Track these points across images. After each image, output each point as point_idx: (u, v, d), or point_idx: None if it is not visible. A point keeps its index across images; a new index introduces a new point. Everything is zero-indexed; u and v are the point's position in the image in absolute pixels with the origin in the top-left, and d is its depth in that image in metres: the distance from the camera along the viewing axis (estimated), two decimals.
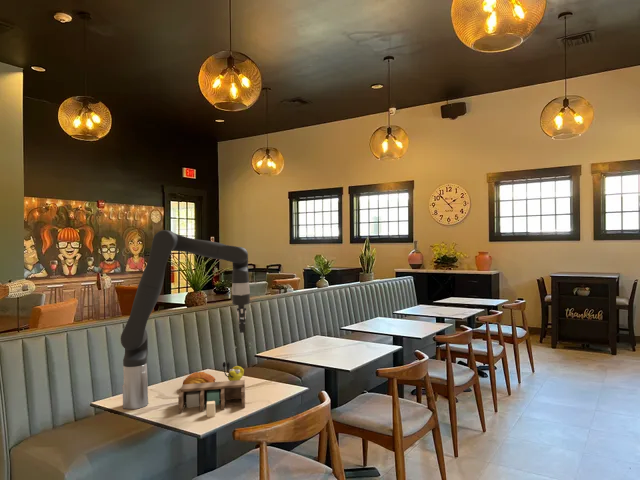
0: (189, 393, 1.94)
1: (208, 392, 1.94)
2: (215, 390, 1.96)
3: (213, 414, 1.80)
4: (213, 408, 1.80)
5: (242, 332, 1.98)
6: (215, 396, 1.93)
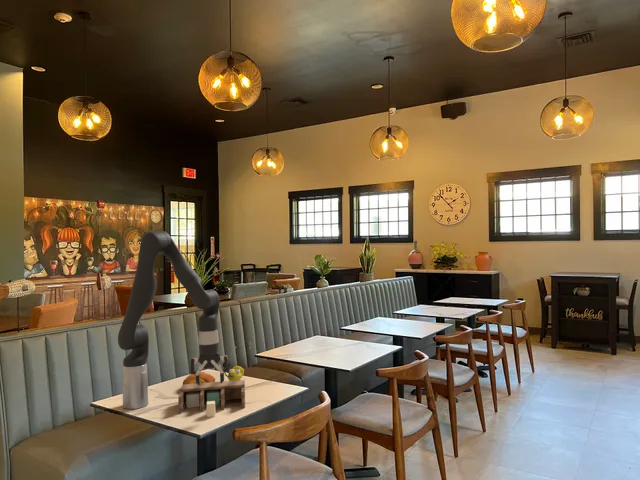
0: (189, 393, 1.94)
1: (208, 392, 1.94)
2: (215, 390, 1.96)
3: (213, 414, 1.80)
4: (213, 408, 1.80)
5: None
6: (215, 396, 1.93)
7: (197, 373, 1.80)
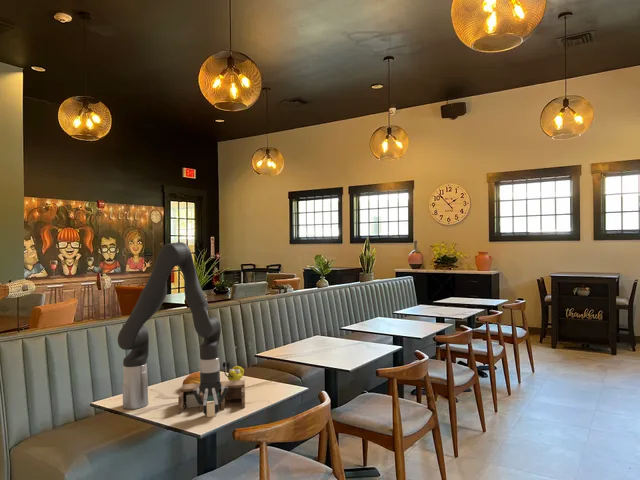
0: (189, 393, 1.94)
1: None
2: None
3: (213, 414, 1.80)
4: (213, 408, 1.80)
5: (216, 413, 1.82)
6: None
7: (204, 403, 1.80)
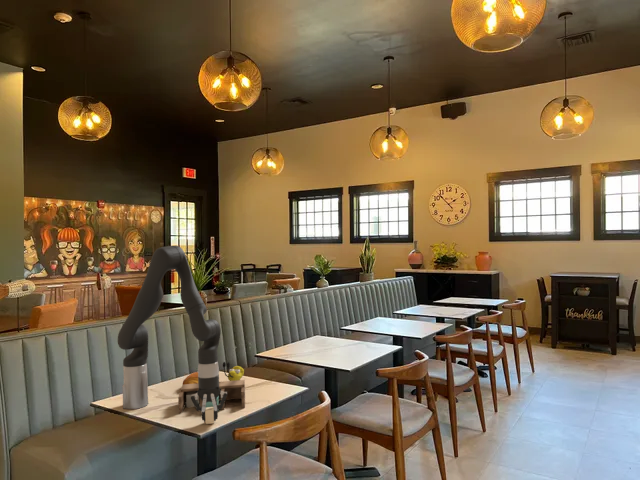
0: (189, 393, 1.94)
1: None
2: None
3: (212, 421, 1.72)
4: (212, 414, 1.72)
5: (215, 419, 1.74)
6: None
7: (203, 409, 1.72)
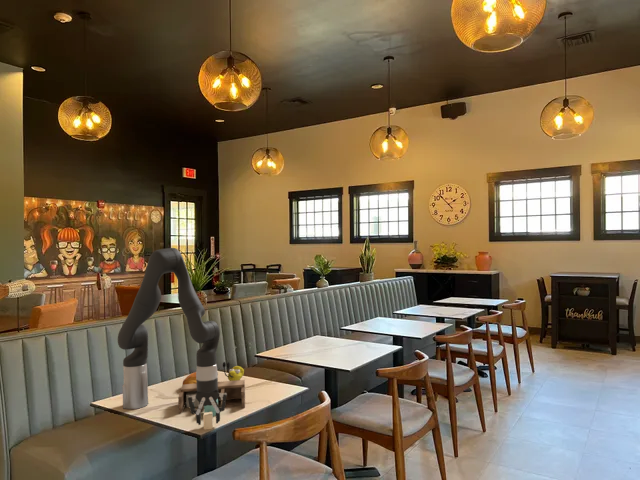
0: (189, 393, 1.94)
1: None
2: None
3: (210, 426, 1.68)
4: (210, 420, 1.68)
5: None
6: None
7: (198, 412, 1.68)
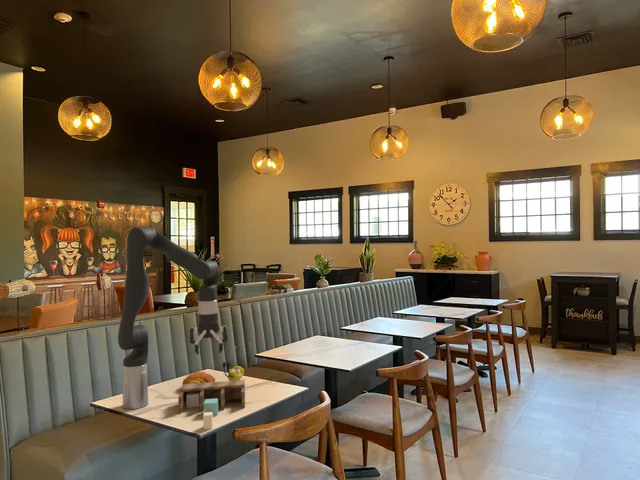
0: (189, 393, 1.94)
1: (205, 402, 1.82)
2: (213, 400, 1.84)
3: (210, 426, 1.68)
4: (210, 420, 1.68)
5: None
6: (213, 406, 1.81)
7: (196, 342, 1.81)
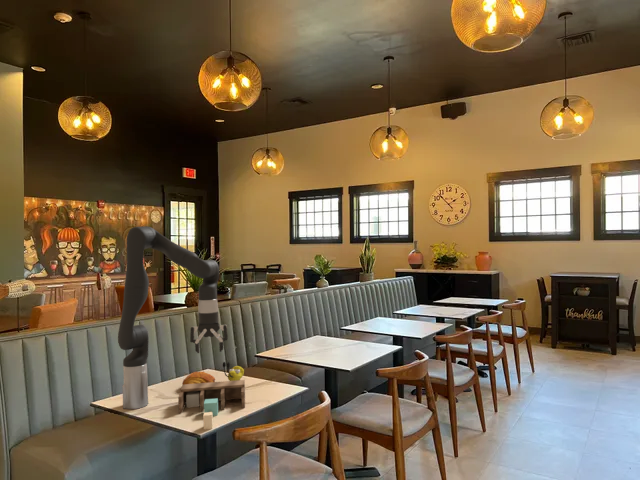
0: (189, 393, 1.94)
1: (205, 402, 1.82)
2: (213, 400, 1.84)
3: (210, 426, 1.68)
4: (210, 420, 1.68)
5: (221, 351, 1.84)
6: (213, 406, 1.81)
7: (197, 341, 1.82)
